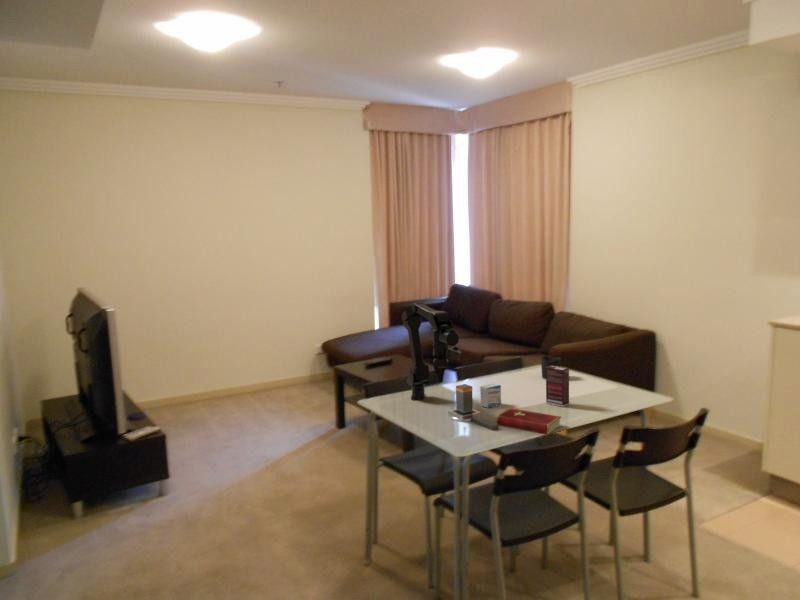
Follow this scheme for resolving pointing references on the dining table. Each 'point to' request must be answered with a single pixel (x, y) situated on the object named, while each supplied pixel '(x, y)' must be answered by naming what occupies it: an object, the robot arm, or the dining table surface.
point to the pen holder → (549, 363)
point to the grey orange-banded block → (464, 399)
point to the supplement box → (557, 386)
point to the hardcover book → (528, 420)
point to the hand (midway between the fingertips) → (440, 379)
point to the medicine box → (490, 395)
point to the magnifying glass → (473, 419)
